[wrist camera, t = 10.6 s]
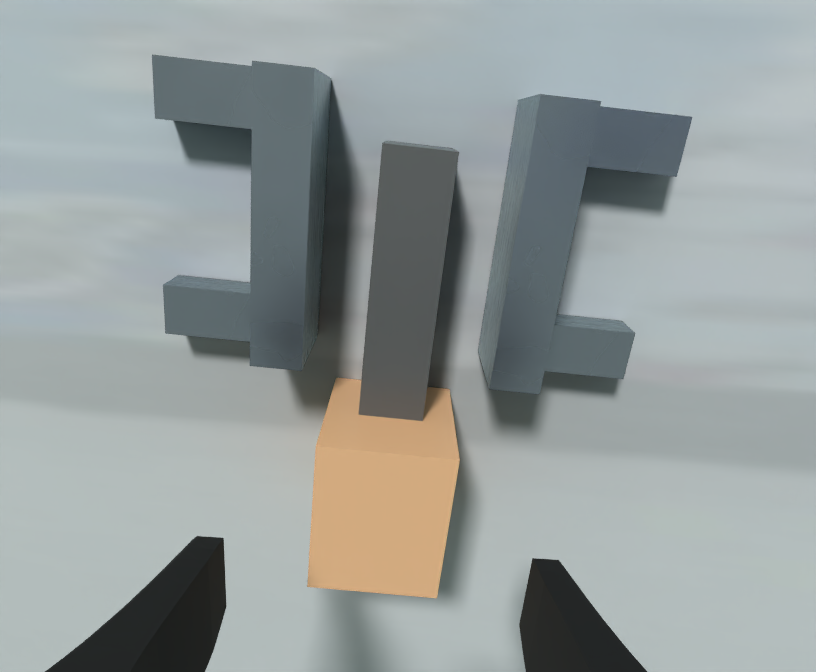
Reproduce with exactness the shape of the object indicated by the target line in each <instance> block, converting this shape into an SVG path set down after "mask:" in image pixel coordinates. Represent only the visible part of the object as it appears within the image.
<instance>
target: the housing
mask: <svg viewBox="0 0 816 672" xmlns="http://www.w3.org/2000/svg"><path fill="white" fill-rule="evenodd" d="M152 65H153V85H154V106H155V118H156V119H165V120H174V121H183V122H192V123H201V124H210V125H219V126H228V127H237V128H246V129H252V147H251V275H250V283H249V282H239V281H230V280H220V279H210V278H200V277H191V276H181V275H178V276H176V277H175V278H173V279H172V280H170V281H168V282H167V283H165V284H164V285H163V292H164V313H165V333H166V334H176V335H186V336H197V337H207V338H217V339H227V340H237V341H247V342H250V366H257V367H267V368H277V369H288V370H298V371H302V369H303V367H304V365H305V362H306V360H307V358H308V356H309V353H310V351H311V349H312V347H313V345H314V342H315V340H316V338H317V336H318V321H319V303H320V284H321V265H322V246H323V227H324V208H325V189H326V170H327V151H328V132H329V113H330V95H331V78H330V77H328V76H327V75H325V74H324V73H322V72H320V71H319V70H317V69H315V68H310V67H301V66H293V65H284V64H275V63H267V62H258V61H252V66H246V65H237V64H229V63H220V62H211V61H203V60H194V59H185V58H177V57H168V56H159V55H152ZM600 104H601V101H595V100H586V99H578V98H569V97H560V96H552V95H543V94H539V95H535V96H532V97H528V98H524V99H520V100H518V105H517V111H516V117H515V124H514V130H513V136H512V142H511V148H510V155H509V161H508V167H507V173H506V179H505V186H504V192H503V198H502V204H501V211H500V217H499V223H498V229H497V235H496V242H495V248H494V254H493V260H492V266H491V273H490V279H489V285H488V291H487V297H486V304H485V310H484V316H483V322H482V328H481V335H480V341H479V347H478V353H479V357H480V360H481V363H482V367H483V370H484V373H485V377H486V380H487V383H488V386H489V389H491V390H501V391H512V392H522V393H532V394H540V391H541V386H542V381H543V377H544V372H545V371H548V372H558V373H568V374H578V375H588V376H598V377H608V378H618V379H623V378H624V374H625V370H626V367H627V363H628V359H629V355H630V351H631V348H632V344H633V340H634V336H635V332H633V331H632V330H631V329H630V328H629V327H628V326H627V325H626V324H625V323H624V322H623V321H618V320H608V319H599V318H589V317H579V316H569V315H560V314H557V310H558V305H559V300H560V295H561V290H562V286H563V281H564V276H565V271H566V267H567V262H568V257H569V252H570V247H571V243H572V238H573V233H574V228H575V223H576V219H577V214H578V209H579V204H580V199H581V195H582V190H583V185H584V180H585V176H586V171H587V167H594V168H603V169H612V170H621V171H630V172H639V173H648V174H657V175H666V176H675V177H677V173H678V169H679V166H680V162H681V158H682V154H683V151H684V147H685V143H686V139H687V135H688V132H689V128H690V124H691V120H692V117H688V116H679V115H670V114H662V113H653V112H644V111H636V110H627V109H618V108H610V107H601V106H600Z"/></svg>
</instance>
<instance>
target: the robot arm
mask: <svg viewBox="0 0 816 672" xmlns="http://www.w3.org/2000/svg"><path fill="white" fill-rule="evenodd" d="M225 609H226V588H225V564H224V540H223V538H216V537H201V536H197V537H195V538H194V539H193V540H192V541H191V542H190V543H189V544H188V545H187V546H186V547H185V548H184V549H183V550H182V551H181V552H180V553H179V554H178V555H177V556H176V557H175V558H174V559H173V560H172V561H171V562H170V563H169V564H168V565H167V566H166V567H165V568H164V569H163V570H162V571H161V572H160V573H159V574H158V575H157V576H156V577H155V578H154V579H153V580H152V581H151V582H150V583H149V584H148V585H147V586H146V587H145V588H144V589H142V590H141V591H140V592H139V593H138V594H137V595H136V596H135V597H134V598H133V599H132V600H131V601H130V602H129V603H128V604H127V605H125V606H124V607H123V608H122V609H121V610H120V611H119V612H118V613H117V614H115V615H114V616H113V617H112V618H111V619H110V620H108V621H107V622H106V623H105V624H104V625H103V626H102V627H100V628H99V629H98V630H97V631H96V632H95V633H93V634H92V635H91V636H90V637H89V638H88V639H86V640H85V641H84V642H83V643H81V644H80V645H79V646H78V647H77V648H75V649H74V650H73V651H72V652H70V653H69V654H68V655H66V656H65V657H64V658H63V659H61V660H60V661H59V662H57V663H56V664H55V665H53V666H52V667H51V668H49V669H48V670H47V671H45V672H205V670H206V668H207V665H208V663H209V660H210V658H211V655H212V653H213V650H214V647H215V643H216V640H217V637H218V633H219V630H220V627H221V623H222V620H223V616H224V613H225ZM520 633H521V641H522V648H523V655H524V662H525V668H526V672H647V671H646V670H645V669H644V668H643V666H642V665H641V664H640V663H639V662H638V661H637V660H636V659H635V657H634V656H633V655H632V654H631V653H630V652H629V650H628V649H627V648H626V647H625V646H624V644H623V643H622V642H621V641H620V640H619V638H618V637H617V636H616V635H615V633H614V632H613V631H612V630H611V628H610V627H609V626H608V625H607V624H606V622H605V621H604V620H603V619H602V617H601V616H600V615H599V613H598V612H597V611H596V610H595V608H594V607H593V606H592V604H591V603H590V602H589V600H588V599H587V598H586V596H585V595H584V594H583V592H582V591H581V590H580V588H579V587H578V586H577V584H576V583H575V581H574V580H573V579H572V577H571V576H570V575H569V573H568V572H567V571H566V569H565V568H564V566H563V565H562V564H561V563H560V561H559V560H549V559H534V558H533V559H532V564H531V569H530V574H529V579H528V584H527V589H526V594H525V599H524V604H523V609H522V614H521V619H520Z"/></svg>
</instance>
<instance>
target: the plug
mask: <svg viewBox="0 0 816 672" xmlns="http://www.w3.org/2000/svg"><path fill="white" fill-rule="evenodd" d="M458 155H459V152H458V151H456V150H454V149H452V148H445V147H436V146H428V145H419V144H410V143H402V142H393V141H385V142H383V143H382V154H381V166H380V177H379V188H378V200H377V211H376V222H375V233H374V245H373V256H372V267H371V278H370V290H369V301H368V312H367V324H366V335H365V346H364V357H363V369H362V380H356V379H346V378H336V380H335V383H334V387H333V390H332V393H331V397H330V400H329V404H328V407H327V410H326V414H325V417H324V420H323V424H322V427H321V431H320V434H319V437H318V441H317V444H316V452H315V469H314V485H313V502H312V519H311V535H310V552H309V569H308V585H307V587H315V588H327V589H338V590H349V591H361V592H372V593H383V594H394V595H406V596H417V597H428V598H437V595H438V589H439V582H440V576H441V570H442V564H443V558H444V552H445V546H446V540H447V534H448V528H449V522H450V516H451V510H452V504H453V498H454V492H455V486H456V480H457V474H458V468H459V462H460V458H459V452H458V445H457V438H456V431H455V424H454V417H453V411H452V404H451V397H450V390H449V389H444V388H434V387H427V385H428V377H429V370H430V362H431V355H432V348H433V340H434V333H435V325H436V318H437V310H438V303H439V296H440V288H441V281H442V273H443V266H444V259H445V251H446V244H447V236H448V229H449V221H450V214H451V207H452V199H453V192H454V184H455V177H456V169H457V162H458Z"/></svg>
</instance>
